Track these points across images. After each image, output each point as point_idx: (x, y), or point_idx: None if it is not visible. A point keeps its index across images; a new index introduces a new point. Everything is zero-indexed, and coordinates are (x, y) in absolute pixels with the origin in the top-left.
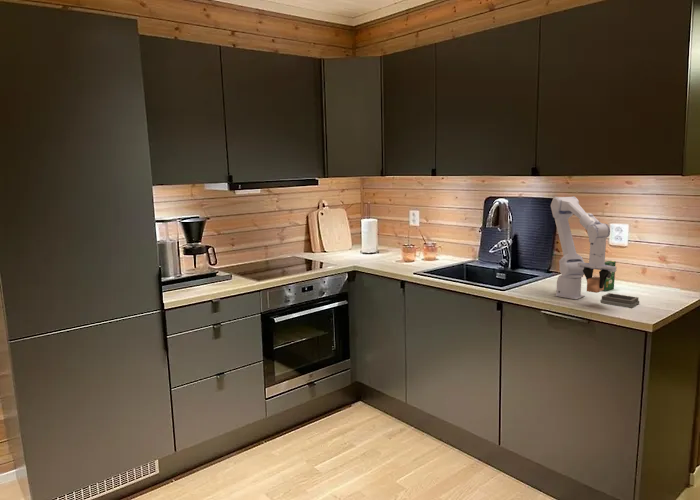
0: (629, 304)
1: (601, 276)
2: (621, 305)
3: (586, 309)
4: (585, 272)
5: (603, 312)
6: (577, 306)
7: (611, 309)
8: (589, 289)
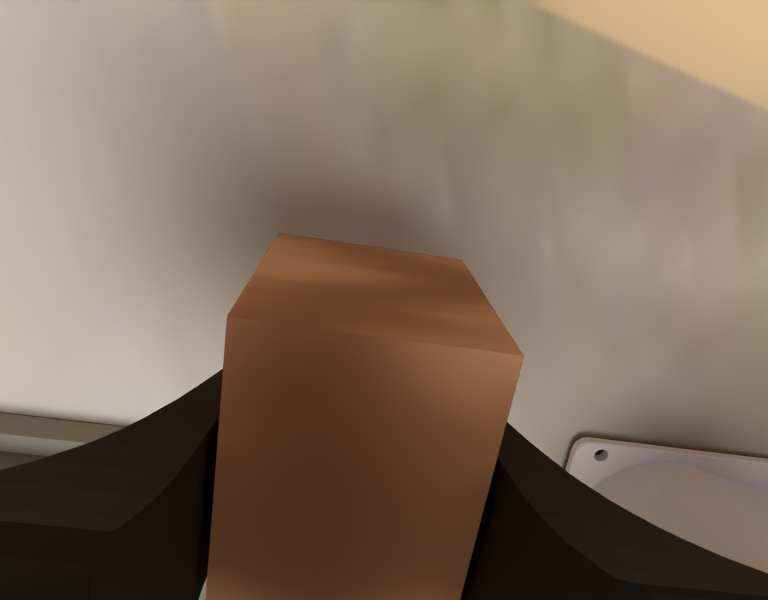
0: (1, 446)
1: (103, 474)
2: (97, 430)
3: (387, 59)
4: (680, 561)
5: (165, 25)
6: (516, 151)
7: (139, 237)
8: (416, 264)
